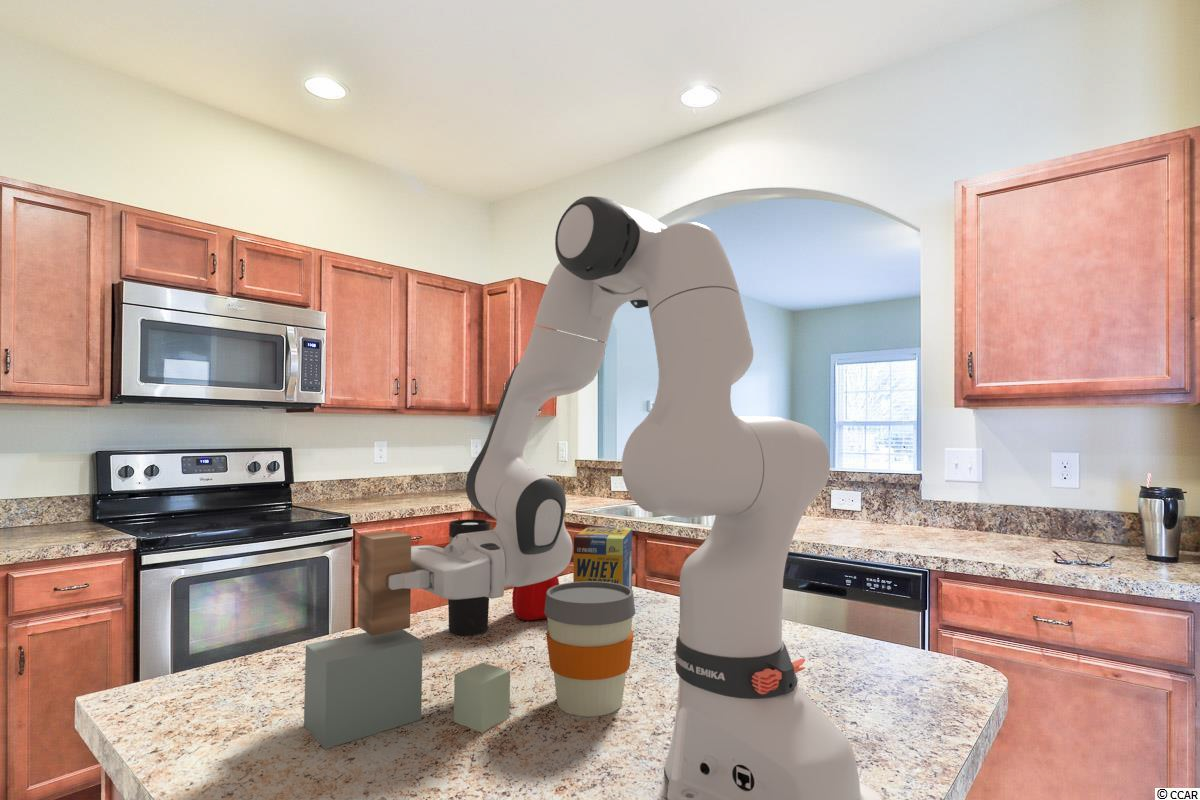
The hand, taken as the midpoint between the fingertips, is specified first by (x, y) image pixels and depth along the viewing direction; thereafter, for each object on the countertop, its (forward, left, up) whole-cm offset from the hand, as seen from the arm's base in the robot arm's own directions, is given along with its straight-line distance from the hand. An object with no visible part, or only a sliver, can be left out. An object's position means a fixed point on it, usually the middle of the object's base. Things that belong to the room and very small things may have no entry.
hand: (377, 577), depth 84 cm
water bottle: (+24, -42, -18) cm, 52 cm away
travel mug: (+25, -27, -18) cm, 41 cm away
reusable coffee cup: (-14, -24, -18) cm, 34 cm away
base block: (0, +2, -18) cm, 18 cm away
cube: (-9, -10, -18) cm, 23 cm away
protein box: (+22, -58, -18) cm, 65 cm away
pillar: (0, -1, -6) cm, 7 cm away
